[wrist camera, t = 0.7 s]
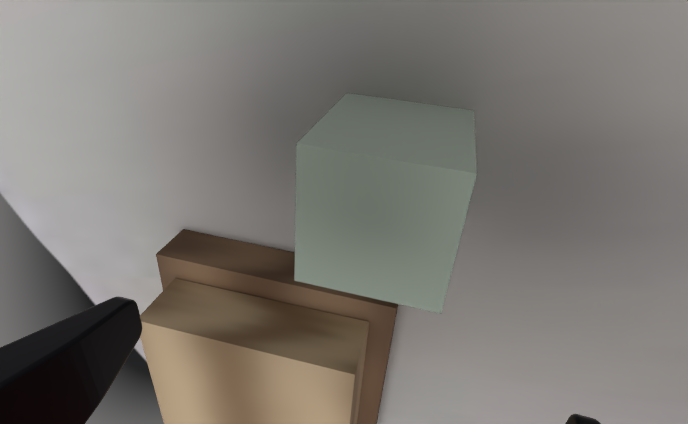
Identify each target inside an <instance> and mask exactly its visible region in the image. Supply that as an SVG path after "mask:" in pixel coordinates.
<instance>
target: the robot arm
mask: <svg viewBox="0 0 688 424" xmlns="http://www.w3.org/2000/svg"><path fill="white" fill-rule="evenodd" d="M141 333H142V322H141V318H140V314H139V310H138V306H137V303H136V302H135V301H134V300H131V299H127V298H123V297H114V298H111V299H109V300H107V301H105V302H102V303H100V304H98V305H96V306H93V307H91V308H89V309H86V310H84V311H82V312H80V313H77V314H75V315H73V316H71V317H68V318H66V319H64V320H62V321H59V322H57V323H55V324H53V325H51V326H48V327H46V328H44V329H41V330H39V331H37V332H35V333H32V334H30V335H28V336H25V337H23V338H21V339H19V340H17V341H14V342H12V343H10V344H7V345H5V346H3V347H1V348H0V424H85V423H86V421H87V420H88V419H89V417H90V416H91V415H92V413H93V412H94V410H95V409H96V408H97V406H98V405H99V403H100V402H101V400H102V399H103V397H104V396H105V394H106V393H107V391H108V389H109V388H110V386H111V384H112V383H113V381H114V380H115V378H116V376H117V375H118V373H119V371H120V370H121V368H122V366H123V365H124V363H125V361H126V360H127V358H128V356H129V355H130V353H131V351H132V350H133V348H134V346H135V345H136V343H137V341H138V340H139V338H140V336H141ZM566 424H601V423H600V422H598V421H597V420H596V419H593V418H590V417H586V416H582V415H578V414H573V415H571V416H570V417H569V419H568V420H567V422H566Z"/></svg>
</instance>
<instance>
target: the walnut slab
mask: <svg viewBox="0 0 688 424" xmlns="http://www.w3.org/2000/svg"><path fill="white" fill-rule="evenodd" d="M156 256H157V261H158V267H159V272H160V277H161V282H162V287H163V291H164V290H165V289H166V288H167V286H168V285H169V284H170V283H171V282H172V281H173V280H174V279H175V278H176V279H180V280H185V281H189V282H193V283H198V284H202V285H207V286H211V287H216V288H220V289H225V290H229V291H234V292H238V293H243V294H247V295H251V296H256V297H260V298H265V299H269V300H274V301H278V302H283V303H287V304H292V305H296V306H301V307H305V308H309V309H314V310H318V311H323V312H327V313H332V314H336V315H341V316H345V317H350V318H354V319H359V320H363V321H368V322H369V329H368V337H367V346H366V354H365V362H364V370H363V379H362V387H361V395H360V404H359V412H358V420H357V424H376V423H377V418H378V413H379V407H380V402H381V396H382V390H383V385H384V379H385V374H386V368H387V363H388V357H389V352H390V346H391V341H392V335H393V330H394V324H395V319H396V313H397V308H398V304H396V303H391V302H387V301H382V300H378V299H374V298H369V297H365V296H360V295H356V294H352V293H347V292H343V291H338V290H334V289H329V288H325V287H321V286H316V285H312V284H307V283H303V282H299V281H294V274H295V253H294V252H289V251H284V250H280V249H275V248H270V247H265V246H261V245H256V244H251V243H247V242H242V241H237V240H232V239H228V238H223V237H218V236H213V235H209V234H204V233H199V232H195V231H190V230H185V229H183V230H182V231H181V232H180V233H179V234H178V235H177V236H176V237H174V238H173V239H172V240H171V241H170V242H169V243H168V244H167V245H166V246H165V247H163V248H162V249H161V250H160V251H159V252H158V253H157V254H156Z"/></svg>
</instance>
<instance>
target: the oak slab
mask: <svg viewBox="0 0 688 424" xmlns="http://www.w3.org/2000/svg"><path fill="white" fill-rule="evenodd" d="M140 318H141V322H142V333H141V336H140V337H141V341H142V345H143V348H144V352H145V356H146V359H147V363H148V367H149V370H150V374H151V377H152V381H153V385H154V388H155V392H156V396H157V399H158V403H159V407H160V410H161V414H162V417H163V421H164V424H357V420H358V412H359V404H360V395H361V387H362V379H363V370H364V362H365V354H366V346H367V337H368V329H369V322H368V321H363V320H359V319H354V318H350V317H345V316H341V315H336V314H332V313H327V312H323V311H318V310H314V309H309V308H305V307H301V306H296V305H292V304H287V303H283V302H278V301H274V300H269V299H265V298H260V297H256V296H251V295H247V294H243V293H238V292H234V291H229V290H225V289H220V288H216V287H211V286H207V285H202V284H198V283H193V282H189V281H185V280H180V279H176V278H175V279H174V280H173V281H172V282H171V283H170V284H169V285H168V286H167V288H166V289H165V290H164V291H163V292H162V293H161V294H160V295H159V296H158V297H157V298H156V299H155V300H154V301H153V302H152V304H151V305H150V306H149V307H148V308H147V309H146V310H145V311H144V312H143V313H142V314H141V315H140Z"/></svg>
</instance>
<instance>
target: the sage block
mask: <svg viewBox="0 0 688 424" xmlns="http://www.w3.org/2000/svg"><path fill="white" fill-rule="evenodd" d="M476 176H477V163H476V143H475V123H474V110H467V109H460V108H453V107H445V106H438V105H431V104H424V103H417V102H409V101H402V100H395V99H388V98H381V97H373V96H366V95H359V94H352V93H346V94H345V95H344V96H343V97H342V98H341V99H340V100H339V101H338V102H337V103H336V104H335V105H334V106H333V107H332V108H331V109H330V110H329V111H328V112H327V113H326V114H325V115H324V116H323V117H322V118H321V119H320V120H319V121H318V122H317V123H316V124H315V125H314V126H313V127H312V128H311V129H310V130H309V131H308V132H307V133H306V134H305V135H304V136H303V137H302V138H301V139H300V140H299V141H298V142H297V143H296V194H295V274H294V281H299V282H303V283H307V284H312V285H316V286H321V287H325V288H329V289H334V290H338V291H343V292H347V293H352V294H356V295H360V296H365V297H369V298H374V299H378V300H382V301H387V302H391V303H396V304H400V305H405V306H409V307H413V308H418V309H422V310H427V311H431V312H435V313H440V314H441V312H442V308H443V304H444V300H445V296H446V293H447V289H448V285H449V281H450V277H451V273H452V269H453V265H454V261H455V258H456V254H457V250H458V246H459V242H460V238H461V234H462V230H463V226H464V223H465V219H466V215H467V211H468V207H469V203H470V199H471V195H472V191H473V188H474V184H475V180H476Z"/></svg>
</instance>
